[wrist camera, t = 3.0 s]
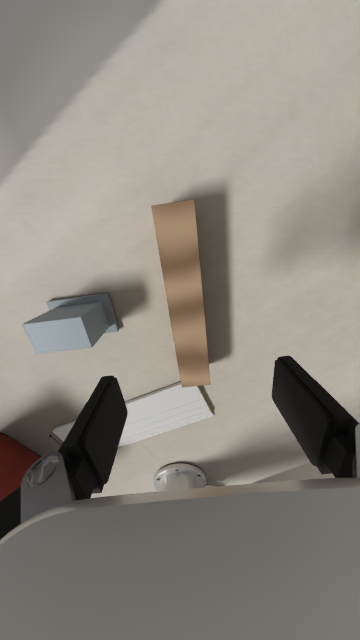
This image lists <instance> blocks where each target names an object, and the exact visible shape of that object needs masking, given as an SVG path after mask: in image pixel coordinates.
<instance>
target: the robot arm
mask: <svg viewBox="0 0 360 640" xmlns="http://www.w3.org/2000/svg"><path fill="white" fill-rule="evenodd" d="M272 398H273V401H274V403H275V404H276V406H277V408H278V409H279V411H280V413H281V414H282V416H283V418H284V419H285V421H286V422H287V424H288V426H289V427H290V429H291V431H292V432H293V434H294V436H295V437H296V439H297V441H298V442H299V444H300V446H301V447H302V449H303V450H304V452H305V454H306V455H307V457H308V459H309V460H310V462H311V463H312V464H313V465H314V466H317V467H318V469H319V471H320V472H321V474H330V473H333V475H334V476H335V478H327V479H311V480H296V481H295V480H294V481H282V482H268V483H257V484H243V485H231V486H218V487H206V488H205V486H206V476H205V474H204V472H203V471H202V470H201V469H199V468H198V467H196V466H193V465H190V464H183V463H178V464H171V465H168V466H165V467H163V468H162V469H160V470H159V471H158V472H157V473H156V475H155V477H154V486H155V488H156V490H157V491H158V492H149V493H137V494H126V495H117V496H108V497H99V498H90V497H91V494H92V493H101V492H102V489H103V486H104V484H106V483H107V482H108V479H109V476H110V473H111V469H112V466H113V462H114V459H115V456H116V452H117V449H118V446H119V442H120V439H121V435H122V432H123V429H124V425H125V422H126V419H127V414H128V412H127V407H126V404H125V401H124V398H123V395H122V393H121V390H120V387H119V384H118V381H117V378H114V376H103V377H102V378H101V379H100V381H99V383H98V385H97V386H96V388H95V390H94V392H93V393H92V395H91V397H90V398H89V400H88V402H87V403H86V404H85V406H84V408H83V409H82V411H81V413H80V415H79V416H78V418H77V420H76V421H75V423H74V425H73V427H72V428H71V430H70V432H69V433H68V435H67V437H66V439H65V440H64V442H63V444H62V446H61V447H60V449H59V451H58V452H51V453H47V454H46V455H44V456H42V457H40V458H39V459H38V460H36V461H35V462H34V463H33V464H32V465H31V466H30V467H29V469H28V470H27V471H26V473H25V475H24V477H23V479H22V482H21V486H20V487H19V488H17V489H16V490H15V491H13V492H12V493H11V494H9V495H8V496H7V497H5V498H4V499H3V500H1V501H0V640H360V423H358V422H357V421H356V420H355V419H354V418H353V417H352V416H351V415H350V414H349V413H348V412H347V411H346V410H345V409H344V408H343V407H342V406H341V405H340V404H339V403H338V402H337V401H336V400H335V399H334V398H333V397H332V396H331V395H330V394H329V393H328V392H327V391H326V390H325V389H324V388H323V387H322V386H321V385H320V384H319V383H318V382H317V381H316V380H314V379H313V378H312V377H311V376H310V375H309V374H308V373H307V372H306V371H305V370H304V369H303V368H302V367H301V366H300V365H299V364H298V363H297V362H296V361H295V360H294V359H293V358H292V357H291V356H283V357H278V360H275V367H274V378H273V388H272Z"/></svg>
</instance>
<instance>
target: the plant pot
mask: <svg viewBox="0 0 360 640" xmlns="http://www.w3.org/2000/svg"><path fill="white" fill-rule="evenodd" d="M39 458H40V457H39V456H38V455H36V454H35V453H33V452H31V451H30V450H28V449H27V448H25V447H23V446H22V445H20V444H19V443H17V442H15V441H14V440H12V439H11V438H9V437H7V436H6V435H4V434H0V501H1V500H3V499H4V498H5V497H7V496H8V495H9V494H11V493H12V492H13V491H15V490H16V489H17V488H19V487H20V486H21V482H22V479H23V477H24V475H25V473H26V471H27V470H28V469H29V467H30V466H31V465H32V464H33V463H34V462H35V461H36V460H38V459H39Z"/></svg>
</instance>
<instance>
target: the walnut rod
mask: <svg viewBox="0 0 360 640" xmlns="http://www.w3.org/2000/svg"><path fill="white" fill-rule="evenodd" d="M151 207H152V213H153V219H154V225H155V231H156V237H157V243H158V249H159V255H160V261H161V266H162V272H163V278H164V284H165V290H166V296H167V302H168V308H169V314H170V320H171V326H172V332H173V338H174V344H175V350H176V356H177V362H178V368H179V374H180V380H181V385H182V388H184V387H193V386H201V385H210V384H211V383H210V372H209V360H208V349H207V338H206V327H205V315H204V304H203V293H202V282H201V270H200V259H199V248H198V237H197V225H196V214H195V203H194V199H192V200H186V201H179V202H173V203H166V204H160V205H154V206H151Z"/></svg>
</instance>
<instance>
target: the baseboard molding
mask: <svg viewBox="0 0 360 640" xmlns="http://www.w3.org/2000/svg"><path fill="white" fill-rule="evenodd" d="M125 404H126V407H127V412H128V414H127V419H126V422H125V425H124V429H123V432H122V435H121V439H120V442H119V446H118V447H121V446H124V445H127V444H130V443H133V442H136V441H139V440H142V439H145V438H148V437H151V436H154V435H157V434H160V433H163V432H166V431H169V430H172V429H175V428H178V427H181V426H184V425H188V424H191V423H194V422H197V421H200V420H203V419H206V418H209V417H212V416H214V414H213V413H212V411H211V409H210V407H209V405H208V403H207V401H206V399H205V398H204V396H203V394H202V392H201V390H200V388H199V386H193V387H184V388H182V385H181V382H178V383H175V384H172V385H170V386H167V387H164V388H162V389H159V390H156V391H154V392H151V393H148V394H145V395H143V396H140V397H137V398H135V399H132V400H129V401H127V402H125ZM75 421H76V420H75ZM75 421H73V422H70V423H67V424H65V425H62V426H59V427H56V428H55V429H54V430H53V431H52V432H53V433H54V434H55V435H57V436H58V437H59V438H60V439H61V440H62V441H63V442H64V440H65V439H66V437H67V435H68V433H69V432H70V430H71V428H72V427H73V425H74V423H75ZM50 437H52V436H51V435H50ZM52 438H53V437H52ZM53 439H54V438H53ZM54 440H55V439H54ZM55 441H56V440H55ZM56 442H57V441H56ZM57 443H58V442H57Z"/></svg>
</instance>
